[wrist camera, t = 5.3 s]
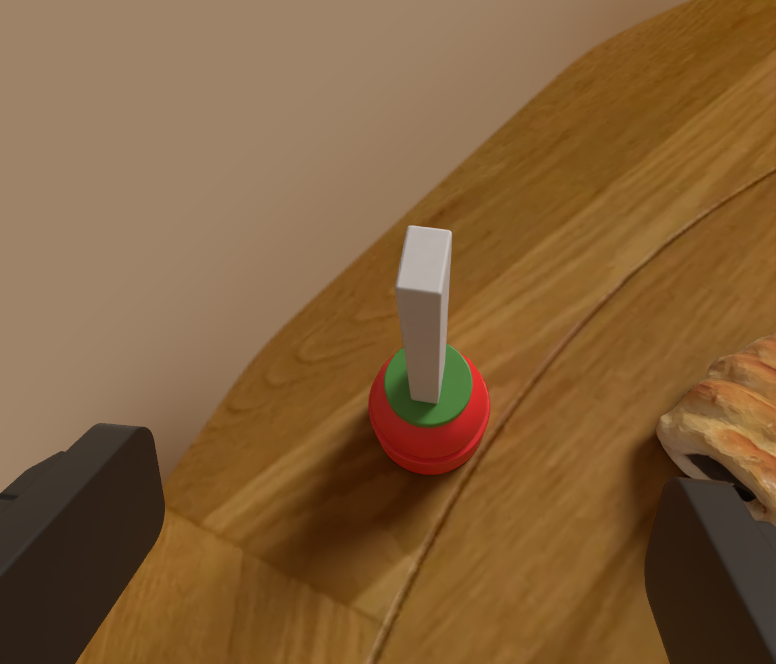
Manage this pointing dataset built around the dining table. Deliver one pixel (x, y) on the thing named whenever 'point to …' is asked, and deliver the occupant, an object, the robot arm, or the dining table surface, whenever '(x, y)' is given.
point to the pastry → (731, 427)
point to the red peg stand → (427, 369)
